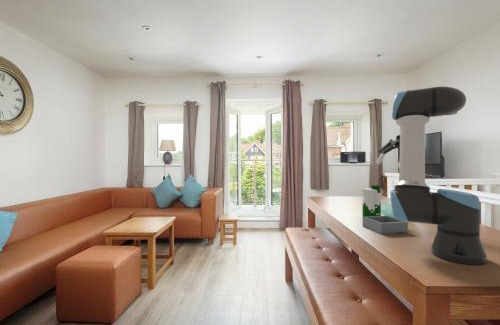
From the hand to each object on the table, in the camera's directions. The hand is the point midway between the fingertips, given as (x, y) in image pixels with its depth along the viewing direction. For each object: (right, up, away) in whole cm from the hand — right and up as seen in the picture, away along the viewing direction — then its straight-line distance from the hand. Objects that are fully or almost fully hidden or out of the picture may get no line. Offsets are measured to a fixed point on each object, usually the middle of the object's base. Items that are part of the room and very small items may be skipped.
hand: (387, 165), depth 144 cm
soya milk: (-9, -32, 0) cm, 33 cm away
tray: (-12, -31, -19) cm, 38 cm away
